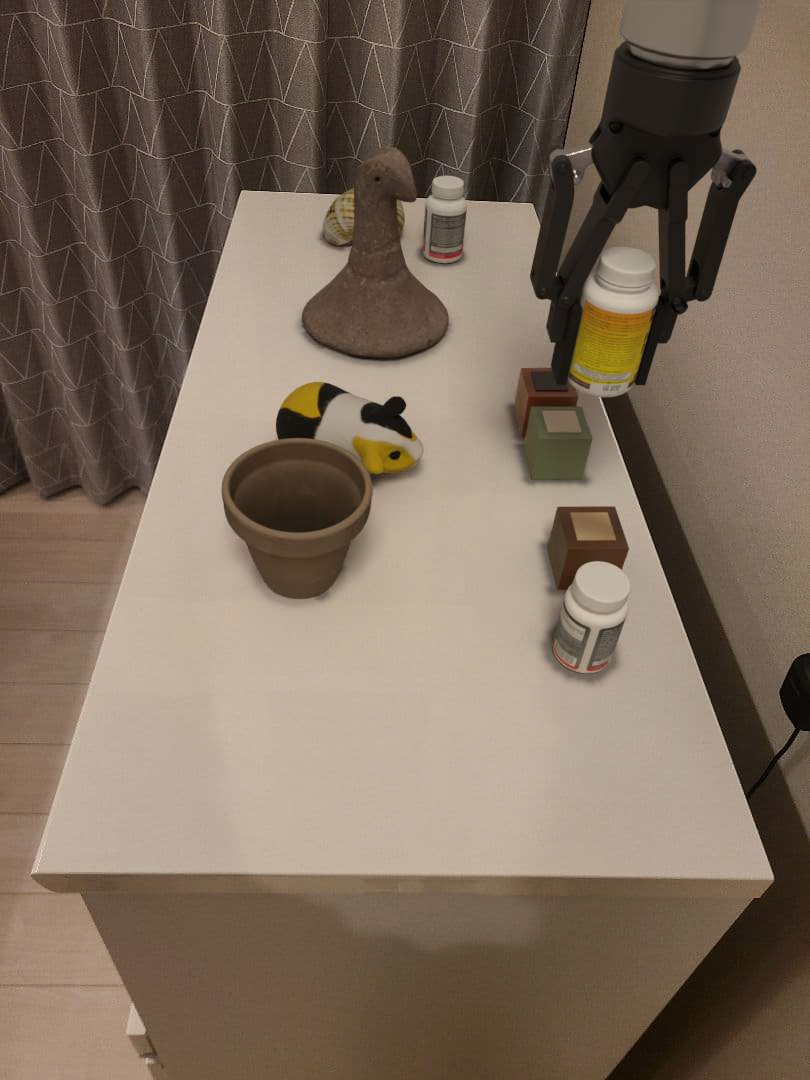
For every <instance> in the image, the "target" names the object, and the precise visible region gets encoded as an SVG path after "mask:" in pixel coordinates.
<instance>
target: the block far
mask: <svg viewBox="0 0 810 1080" xmlns="http://www.w3.org/2000/svg"><path fill="white" fill-rule="evenodd" d="M593 439H594V438H593V436H592V433H591V429H590V427H589V424H588V421H587V417H586V414H585V411H584V408H583V406H576V407H540V406H532V407H531V410H530V416H529V421H528V426H527V432H526V437H524V443H523V450H524V454H525V458H526V459H525V460H526V462H527V468H528V471H529V475H530V479H531V480H583V478H584V474H585V470H586V466H587V463H588V459H589V456H590V452H591V448H592V444H593V441H594V440H593Z"/></svg>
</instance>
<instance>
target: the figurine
mask: <svg viewBox="0 0 810 1080" xmlns="http://www.w3.org/2000/svg"><path fill="white" fill-rule="evenodd" d="M406 408H407V402H406V400H405V399H404V398H403V396H397V395H394V396H391V397H390V398H389V399H387V400H386V401H385V402H384V404H380V403H378V402H375V401H373V400H370V399H366V398H363V397H361V396H358V395H355V394H353V393H351V392H349V391H347V390H345V389H343V388H341V387H339V386H336V385H334V384H332V383H329V382H324V381H313V382H308V383H305V384H302V385H299V386H298V387H297V388H295V389H294V390H292V391H291V392H290V393H289V394H288V395H287V396H286V397H285V398H284V400H283V402H282V403H281V405H280V407H279V409H278V411H277V415H276V419H275V432H276V433H275V434H276V436H277V440H280V439H288V438H307V439H315V440H321V441H325V442H329V443H332V444H335V445H337V446H340V447H342V448H343V449H345V450H347V451H349V452H351V453H352V454H353V455H354V456H356V457H357V458H358V459H359V460H360V461H361V462H362V463H363V464H364V466H365V467H366V469H367V470H368V472H369V474H370V475H373V474H374V475H380V474H382V473H387V474H394V473H400V472H403V471H406V470H409V469H412V468H414V467H415V466H416V465H417V464H418V463H419V462H420V461H421V458H422V457H423V455H424V445H423V442H422V441H421V440H420V438H419V437H418V436H417V435H416V434H415V432H414V431H413V430H412V428H411V426H410V425H409V423H408V422H407V421H406V419H405V418H404V417H403V416H401V415H402V414H403V413H404V411H405V410H406Z"/></svg>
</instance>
